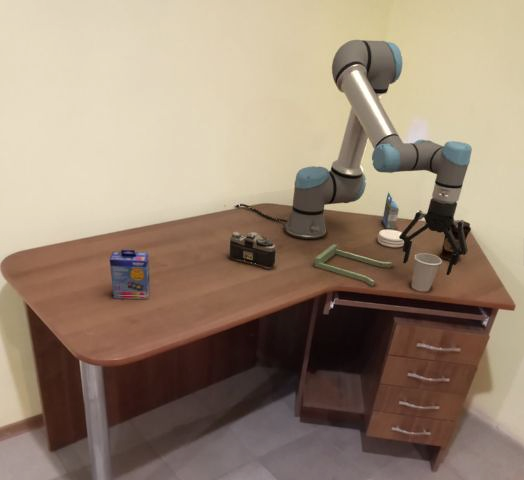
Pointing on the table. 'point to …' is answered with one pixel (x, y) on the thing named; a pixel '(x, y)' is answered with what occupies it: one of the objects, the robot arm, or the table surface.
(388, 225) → the label tape box
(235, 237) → the camera
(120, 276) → the ink cartridge box
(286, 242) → the table surface
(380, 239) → the coaster
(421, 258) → the dixie cup
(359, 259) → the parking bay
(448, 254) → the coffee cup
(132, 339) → the table surface
